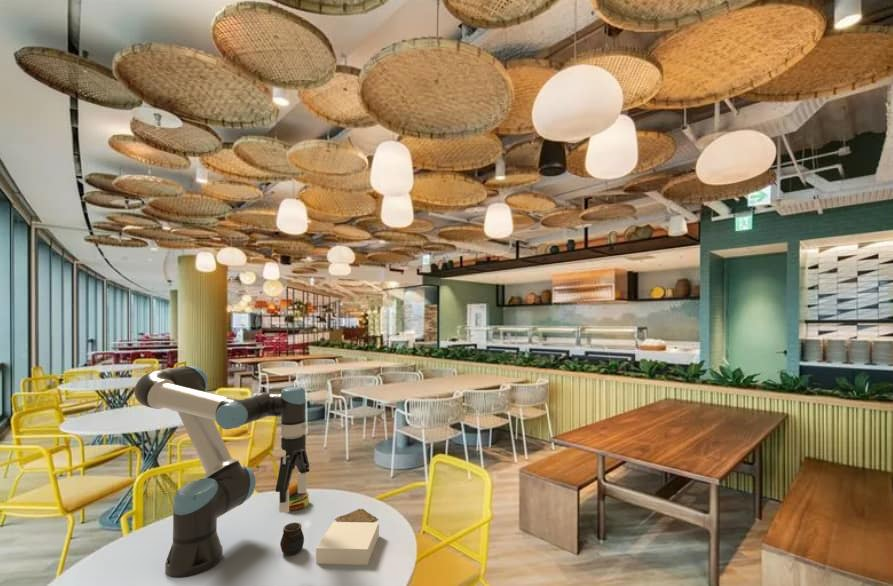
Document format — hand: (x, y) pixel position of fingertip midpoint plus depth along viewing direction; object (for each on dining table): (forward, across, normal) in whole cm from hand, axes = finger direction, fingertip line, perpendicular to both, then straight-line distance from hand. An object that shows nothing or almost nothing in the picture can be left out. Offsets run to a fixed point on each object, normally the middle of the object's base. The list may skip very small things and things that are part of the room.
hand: (293, 501), depth 133 cm
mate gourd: (+16, 0, 0) cm, 16 cm away
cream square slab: (+16, +2, -18) cm, 24 cm away
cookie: (+16, +21, -15) cm, 30 cm away
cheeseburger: (+16, +31, +13) cm, 37 cm away
